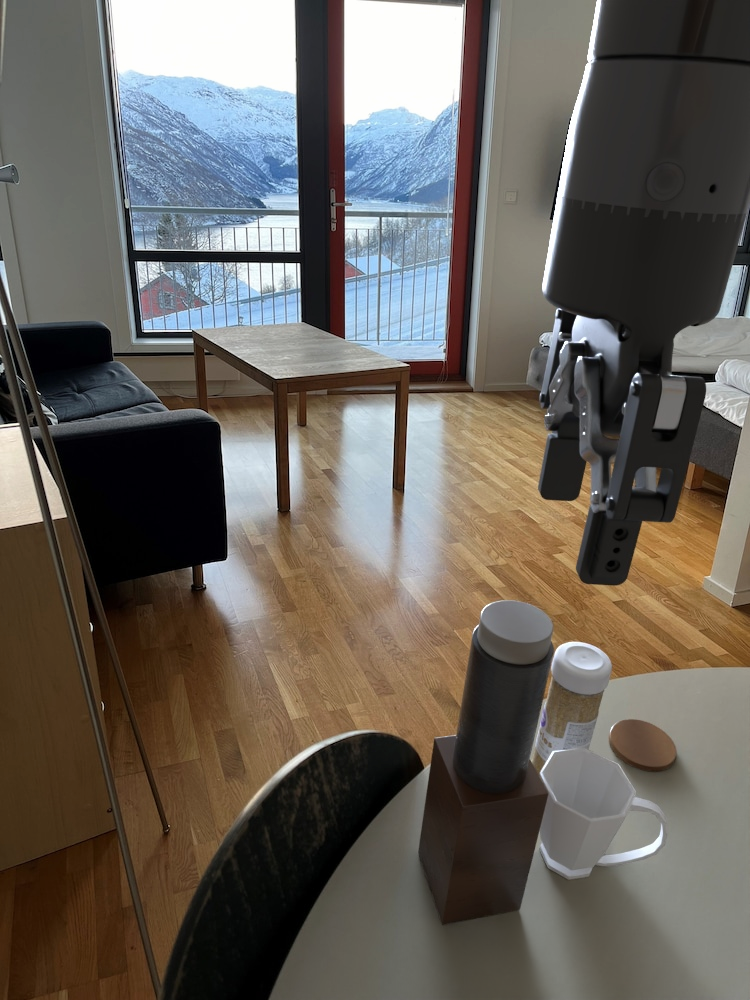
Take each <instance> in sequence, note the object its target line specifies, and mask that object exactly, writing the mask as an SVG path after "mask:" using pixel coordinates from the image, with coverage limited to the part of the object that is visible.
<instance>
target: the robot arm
mask: <svg viewBox="0 0 750 1000" xmlns="http://www.w3.org/2000/svg"><path fill="white" fill-rule="evenodd" d="M586 60H587V61H588V62H587V64H586V65H585V69H584V74H583V79H582V83H581V86H580V89H579V94H578V96H577V100H576V102H575V105H574V110H573V113H572V116H571V120H570V124H569V127H568V128H569V129H568V134H567V139H566V145H565V150H564V151H565V152H564V157H563V161H562V168H561V174H560V180H559V187H558V191H557V197H556V204H555V210H554V215H553V222H552V228H551V233H550V239H549V246H548V252H547V257H546V263H545V270H544V275H543V280H542V286H541V287H542V289H541V291H542V295H543V297H544V298H545V300H546V301H547V302H548V303H549V304H551V305H552V306H554V307H555V308H556V311H555V319H554V324H553V330H552V335H551V339H550V340H551V341H550V344H549V345H550V346H549V350H548V355H547V360H546V365H545V372H544V376H543V381H542V385H541V390H540V391H541V392H540V393H539V397H538V400H539V406H540V409H542V410H546V413H545V415H544V417H543V424H544V428H545V431H546V432H551V433H547V437H546V442H545V448H544V452H543V458H542V463H541V469H540V474H539V479H538V480H539V481H538V486H537V489H538V492H539V494H540V496H541V498H542V499H543V500H545V501H560V502H573V501H575V500H577V499H578V498H579V497H580V494H581V490H582V484H583V480H584V476H585V471H586V466H587V463H588V464H589V466H590V497H589V500H590V501H589V502H590V504H589V506H588V511H587V515H586V520H585V525H584V529H583V534H582V538H581V542H580V547H579V551H578V556H577V560H576V564H575V572H576V574H577V575H578V578H579V579H580V581H581V583H583V584H585V585H595V586H596V585H597V586H620V585H622V584H624V583H625V582H626V581H627V579H628V576H629V573H630V570H631V566H632V562H633V558H634V555H635V550H636V546H637V543H638V540H639V535H640V532H641V529H642V528H641V527H642V524H643V522H651V523H665V524H667V523H672V522H673V521H674V519H675V518H676V515H677V511H678V506H679V502H680V499H681V494H682V490H683V486H684V483H685V478H686V475H687V471H688V467H689V463H690V459H691V456H692V452H693V447H694V443H695V439H696V436H697V431H698V427H699V424H700V420H701V415H702V411H703V408H704V403H705V400H706V396H707V384H706V380H705V378H703V377H701V376H689V375H674V374H673V373H672V371H673V353H674V347H675V341H674V340H675V338H676V336H677V335H678V334H679V333H680V332H681V331H683V330H684V329H686V328H688V327H700V326H703V325H706V324H708V323H710V322H711V321H713V320H714V319H715V318H716V317H717V316H718V315H719V313H720V311H721V308H722V305H723V300H724V298H725V293H726V290H727V286H728V283H729V279H730V276H731V272H732V268H733V266H734V265H733V264H734V261H735V258H736V254H737V250H738V247H739V243H740V240H741V237H742V233H743V229H744V225H745V222H746V218H747V215H748V211H749V207H750V0H597V1H596V6H595V12H594V19H593V25H592V30H591V35H590V42H589V48H588V54H587V59H586ZM607 436H610V437H619V438H609V437H607ZM612 463H613V467H612ZM657 468H659V469H660V473H659V477H658V480H657Z"/></svg>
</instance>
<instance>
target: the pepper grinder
mask: <svg viewBox="0 0 750 1000" xmlns="http://www.w3.org/2000/svg"><path fill="white" fill-rule="evenodd" d="M553 633H554V623H553V621H552V619H551V618H550V617H549V615H548V614H546V613H545V612H544V611H543V610H542V609H540V608H538V607H537V606H535V605H533V604H530V603H527V602H524V601H520V600H514V599H513V600H511V599H505V600H498V601H494V602H491V603H489V604H487V605H486V606H484V608H483V609H482V610H481V612H480V617H479V622H478V625H477V626H476V627H475V628H474V630H473V631H472V634H471V642H470V648H469V653H468V660H467V666H466V673H465V678H464V684H463V692H462V697H461V705H460V710H459V716H458V722H457V729H456V734H455V735H456V741H455V747H454V754H453V765H454V768H455V770H456V772H457V774H458V775H459V777H460V778H461V779H462V780H463V781H464V782H465V783H466V784H468V785H469V786H471V787H473V788H474V789H477V790H479V791H482V792H485V793H490V794H504V793H508V792H511V791H513V790H515V789H517V788H518V787H519V786H520V785H521V784H522V783H523V782H524V780H525V778H526V774H527V769H528V765H529V760H531V756H532V751H533V746H534V742H535V739H536V738H535V737H536V733H537V728H538V726H539V725H538V724H539V720H540V715H541V710H542V706H543V702H544V697H545V692H546V688H547V684H548V680H549V676H550V671H551V666H552V662H553V658H554V654H555V647H554V644H553V641H552V638H553Z"/></svg>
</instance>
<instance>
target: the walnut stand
mask: <svg viewBox="0 0 750 1000" xmlns="http://www.w3.org/2000/svg"><path fill="white" fill-rule="evenodd" d="M456 735H457V734H454V735H447V736H439V737H434V738H433V744H432V750H431V751H432V752H431V759H430V764H429V765H430V766H429V773H428V780H427V788H426V793H425V794H426V795H425V800H424V807H423V814H422V815H423V816H422V822H421V830H420V835H419V836H420V837H419V844H418V849H417V850H418V851H417V852H418V856H419V859H420V862H421V865H422V868H423V871H424V875H425V877H426V881H427V884H428V886H429V890H430V893H431V896H432V899H433V903H434V905H435V907H436V911H437V914H438V918H439V920H440V923H441V925H442V926H444V925H449V924H455V923H460V922H465V921H470V920H476V919H481V918H486V917H490V916H496V915H500V914H505V913H511V912H517V911H520V910H521V907H522V903H523V900H524V895H525V891H526V887H527V883H528V880H529V876H530V875H529V874H530V870H531V867H532V862H533V858H534V855H535V851H536V846H537V842H538V839H539V836H540V826H541V822H542V818H543V814H544V810H545V806H546V802H547V798H548V794H549V793H548V791H547V789H546V788H545V786H544V784H543V782H542V780H541V779H540V777H539V775H538V773H537V771H536V769H535V768H534V766H533V764H532V762H531V760H532V759H530V760H529V765H528V769H527V774H526V778H525V780H524V782H523V783H522V784H521V785H520V786H519V787H518V788H517V789H515V790H513V791H511V792H508V793H504V794H490V793H485V792H482V791H479V790H477V789H474V788H473V787H471V786H469V785H468V784H466V783H465V782H464V781H463V780H462V779H461V778H460V777H459V775H458V774H457V772H456V770H455V768H454V765H453V754H454V747H455V741H456Z"/></svg>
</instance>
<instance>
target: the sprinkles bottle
mask: <svg viewBox="0 0 750 1000" xmlns="http://www.w3.org/2000/svg"><path fill="white" fill-rule="evenodd" d="M612 669H613V664H612V661H611V659H610V658H609V656H608V655H607V653H605V652H604V651H603V650H602V649H600V648H599V647H597V646H595V645H592V644H590V643H586V642H581V641H569V642H565V643H562V644H560V645H559V646H558V647H557V648H556V649H555V650H554V653H553V658H552V662H551V667H550V671H551V678H550V683H549V687H548V692H547V695H546V700H545V702H544V706H543V709H542V714H541V718H540V723H539V725H538V726H539V727H538V731H537V734H536V738H535V744H534V745H535V746H534V750H533V754H532V758H531V759H530V760H531V762H532V764H533V766H534V768H535V769H536V771H537V773H538V775H539V776H540V772H541V770H542V768H543V767H544V765H545V763H546V762H547V760H548V758H549V757H550V755H551V753H552V752H553V751H560V750H569V749H578V748H586V749H588V750H590V747H591V744H592V743H591V742H592V740H593V739H592V738H593V736H594V732H595V728H596V725H597V721H598V717H599V712H600V707H601V704H602V699H603V696H604V692H605V690H606V689H607V687H608V686H609V682H610V680H611V675H612Z"/></svg>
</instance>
